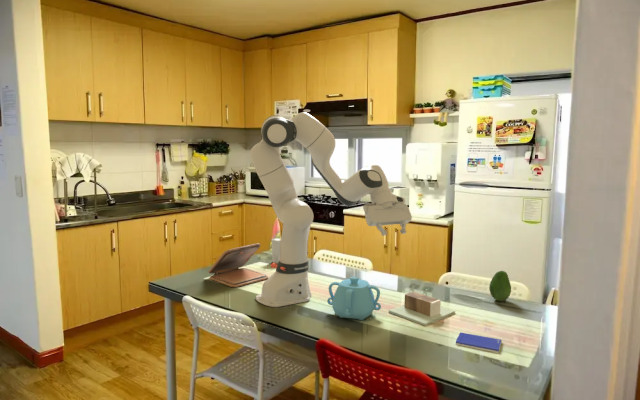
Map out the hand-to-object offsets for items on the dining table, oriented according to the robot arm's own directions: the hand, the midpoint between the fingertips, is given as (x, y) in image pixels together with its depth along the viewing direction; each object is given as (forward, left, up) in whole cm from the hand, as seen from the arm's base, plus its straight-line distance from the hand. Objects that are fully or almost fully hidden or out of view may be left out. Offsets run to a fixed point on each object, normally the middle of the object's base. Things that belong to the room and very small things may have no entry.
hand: (394, 234), depth 174 cm
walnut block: (-3, -10, -23) cm, 25 cm away
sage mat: (-3, -16, -26) cm, 31 cm away
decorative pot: (-23, -1, -26) cm, 35 cm away
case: (-32, +63, -27) cm, 75 cm away
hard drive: (-11, -43, -27) cm, 52 cm away
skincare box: (-2, +74, -26) cm, 78 cm away
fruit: (+31, -28, -26) cm, 49 cm away
